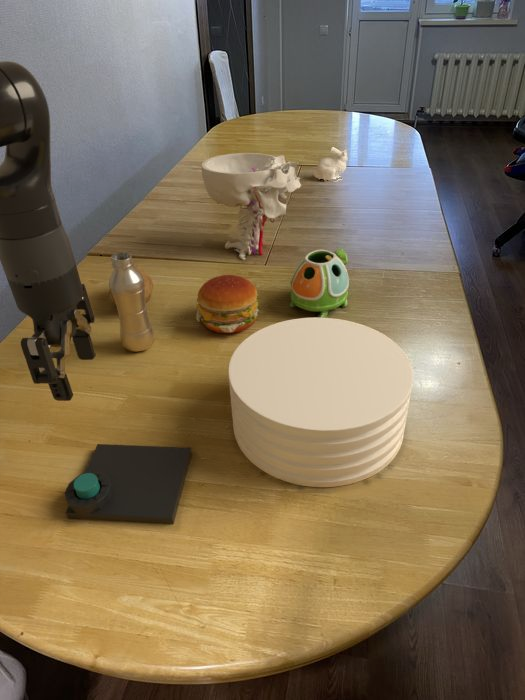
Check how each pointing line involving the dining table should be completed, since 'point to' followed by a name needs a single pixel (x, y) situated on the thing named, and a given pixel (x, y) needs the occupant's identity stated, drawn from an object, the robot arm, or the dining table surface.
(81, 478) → the button
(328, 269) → the turtle holder
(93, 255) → the dining table surface
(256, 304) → the burger
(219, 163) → the skull
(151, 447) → the scale
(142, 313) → the plastic bottle
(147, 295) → the potato
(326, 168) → the rabbit
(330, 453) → the plate stack
